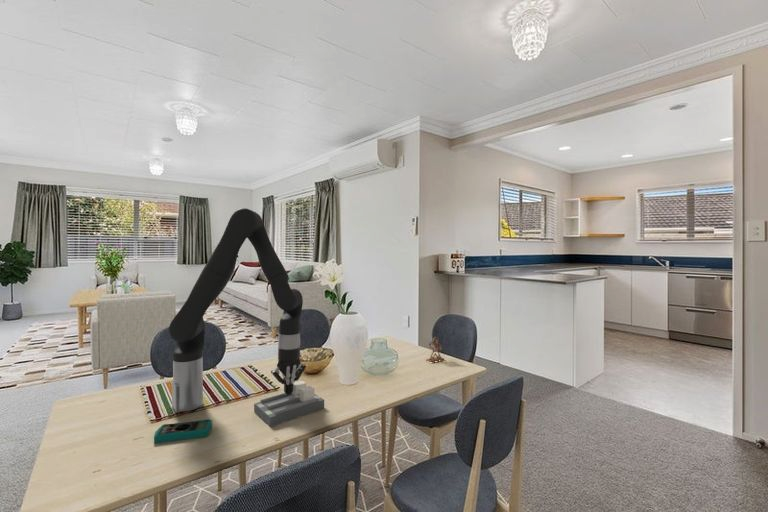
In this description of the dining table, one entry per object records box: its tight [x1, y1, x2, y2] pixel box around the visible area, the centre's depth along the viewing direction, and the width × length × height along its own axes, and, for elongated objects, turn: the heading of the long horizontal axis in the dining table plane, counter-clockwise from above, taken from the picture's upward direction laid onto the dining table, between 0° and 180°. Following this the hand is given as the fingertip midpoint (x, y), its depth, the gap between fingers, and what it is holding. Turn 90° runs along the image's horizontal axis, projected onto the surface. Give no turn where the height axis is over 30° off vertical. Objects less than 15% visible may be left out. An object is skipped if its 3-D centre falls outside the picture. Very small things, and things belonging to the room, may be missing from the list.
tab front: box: [300, 385, 315, 402], centre depth 125 cm, size 4×3×4 cm
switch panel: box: [253, 392, 325, 427], centre depth 125 cm, size 20×13×4 cm, turn 131°
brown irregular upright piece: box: [425, 336, 445, 363], centre depth 179 cm, size 9×4×12 cm, turn 122°
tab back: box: [292, 380, 307, 396], centre depth 130 cm, size 4×3×4 cm
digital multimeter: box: [153, 418, 213, 444], centre depth 109 cm, size 7×15×3 cm, turn 106°
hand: (288, 393), depth 127 cm, fingers closed
